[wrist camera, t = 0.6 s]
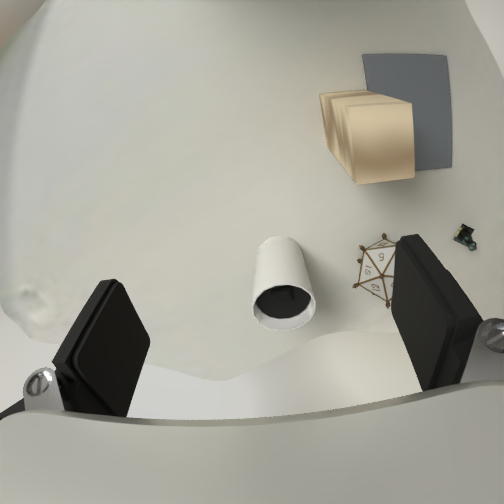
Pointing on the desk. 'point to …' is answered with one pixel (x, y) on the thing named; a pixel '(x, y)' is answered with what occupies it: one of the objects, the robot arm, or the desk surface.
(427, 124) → the slate mat
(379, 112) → the maple block
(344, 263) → the desk surface
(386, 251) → the game die
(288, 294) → the white and black cylinder
